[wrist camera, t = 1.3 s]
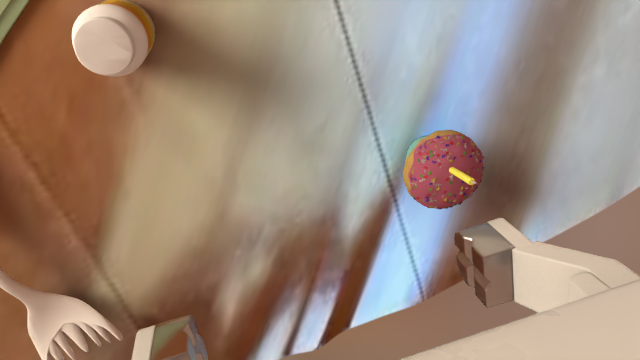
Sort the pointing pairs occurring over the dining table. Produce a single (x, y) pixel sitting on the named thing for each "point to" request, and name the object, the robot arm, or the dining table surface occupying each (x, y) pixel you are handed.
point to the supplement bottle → (113, 37)
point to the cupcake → (443, 169)
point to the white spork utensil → (58, 320)
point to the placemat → (10, 14)
